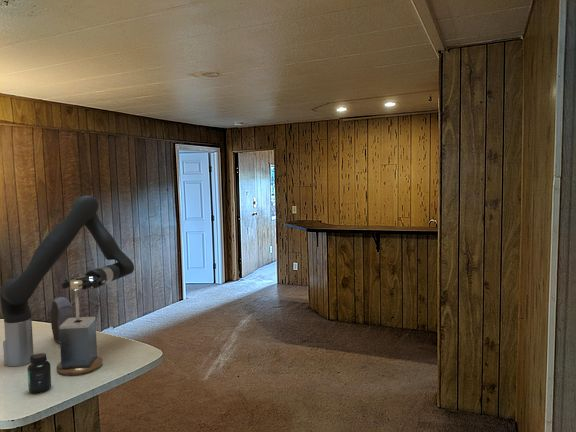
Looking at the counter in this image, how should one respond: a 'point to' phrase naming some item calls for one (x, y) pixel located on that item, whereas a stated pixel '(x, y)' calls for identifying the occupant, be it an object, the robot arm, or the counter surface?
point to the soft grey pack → (60, 315)
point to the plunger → (76, 295)
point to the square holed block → (78, 347)
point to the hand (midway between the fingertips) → (72, 286)
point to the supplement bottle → (39, 374)
